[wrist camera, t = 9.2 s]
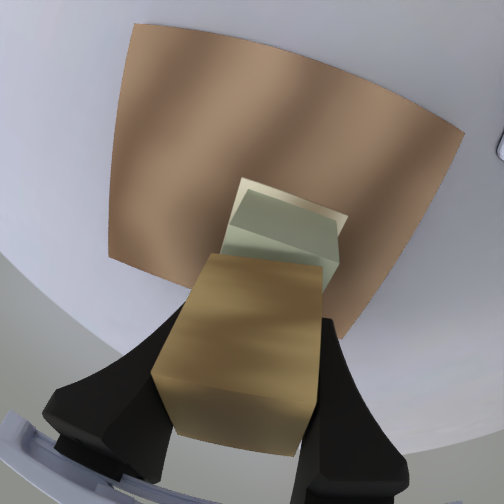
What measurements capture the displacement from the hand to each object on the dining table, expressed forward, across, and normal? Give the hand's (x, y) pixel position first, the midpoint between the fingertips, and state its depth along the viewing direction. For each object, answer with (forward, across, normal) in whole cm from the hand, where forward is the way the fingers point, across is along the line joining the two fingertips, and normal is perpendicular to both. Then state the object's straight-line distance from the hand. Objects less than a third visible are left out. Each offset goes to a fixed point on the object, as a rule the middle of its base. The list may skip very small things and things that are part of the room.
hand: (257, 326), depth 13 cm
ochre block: (+2, 0, 0) cm, 2 cm away
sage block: (+7, 0, 0) cm, 7 cm away
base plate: (+8, +1, -2) cm, 8 cm away
